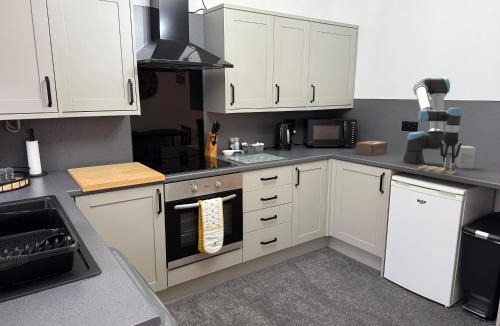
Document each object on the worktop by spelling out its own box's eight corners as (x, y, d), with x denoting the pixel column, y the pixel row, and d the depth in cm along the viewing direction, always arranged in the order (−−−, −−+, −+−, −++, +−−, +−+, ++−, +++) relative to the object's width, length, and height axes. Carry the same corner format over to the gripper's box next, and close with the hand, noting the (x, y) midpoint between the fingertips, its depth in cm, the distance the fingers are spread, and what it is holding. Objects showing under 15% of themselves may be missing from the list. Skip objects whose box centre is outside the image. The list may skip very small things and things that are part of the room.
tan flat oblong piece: (417, 169, 238) (418, 165, 237) (422, 167, 245) (422, 163, 245) (452, 174, 224) (452, 169, 223) (456, 172, 231) (456, 167, 230)
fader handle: (444, 169, 229) (446, 152, 227) (446, 168, 232) (448, 152, 230) (448, 169, 227) (450, 153, 225) (450, 169, 230) (452, 152, 228)
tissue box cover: (370, 156, 293) (371, 144, 291) (355, 154, 304) (356, 142, 302) (386, 153, 309) (387, 142, 307) (371, 151, 320) (372, 140, 318)
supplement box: (455, 165, 255) (457, 145, 252) (469, 166, 252) (471, 146, 249) (458, 168, 246) (461, 147, 243) (473, 168, 244) (476, 147, 241)
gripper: (437, 131, 228) (433, 166, 232) (464, 133, 217) (459, 170, 221) (440, 130, 233) (436, 165, 237) (467, 132, 222) (462, 168, 227)
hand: (447, 167), depth 229 cm, fingers closed on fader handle, 2 cm apart
